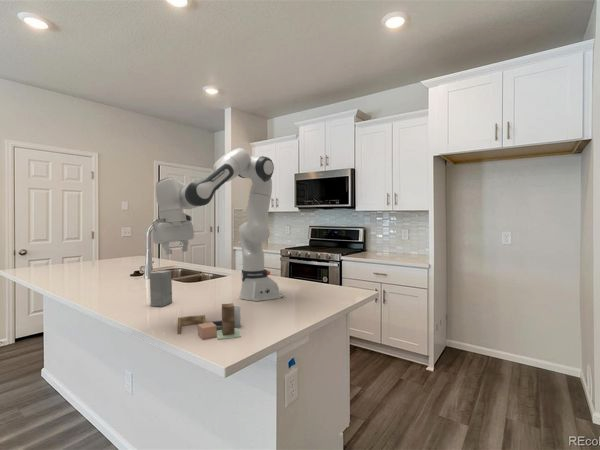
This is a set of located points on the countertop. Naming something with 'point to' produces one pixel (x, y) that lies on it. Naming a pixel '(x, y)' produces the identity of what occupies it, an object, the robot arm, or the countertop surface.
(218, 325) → the hole frame
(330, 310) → the countertop surface
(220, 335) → the green pad
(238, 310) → the grey jar
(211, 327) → the terracotta block
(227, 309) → the walnut block
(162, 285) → the skincare box
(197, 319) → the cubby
